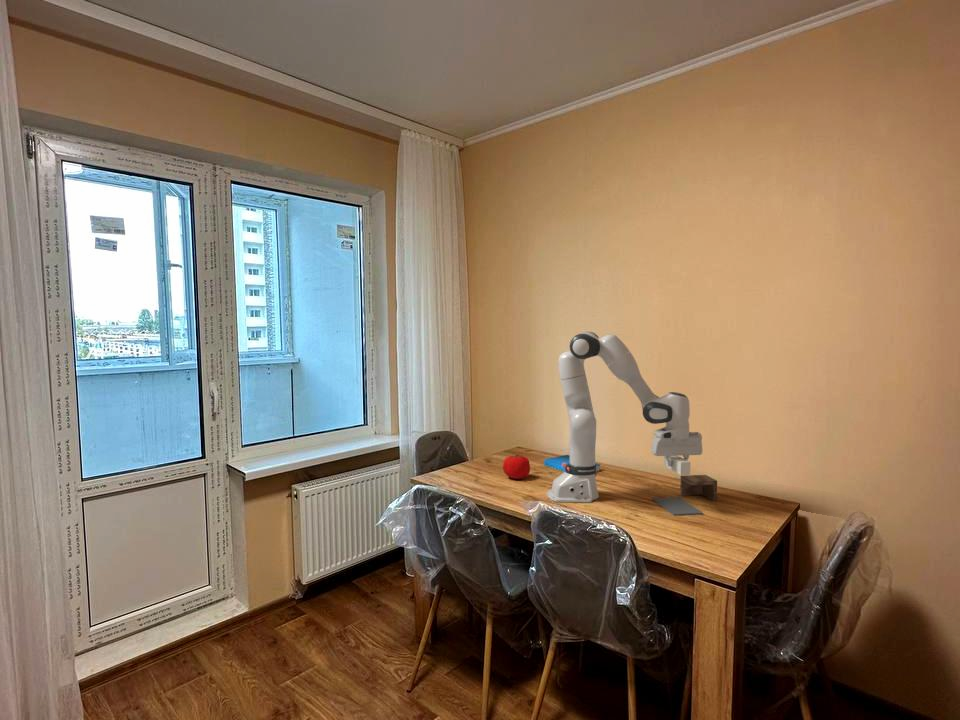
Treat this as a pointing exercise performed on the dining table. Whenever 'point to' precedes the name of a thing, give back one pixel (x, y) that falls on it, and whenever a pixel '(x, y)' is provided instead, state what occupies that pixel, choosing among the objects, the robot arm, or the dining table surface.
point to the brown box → (699, 486)
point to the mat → (677, 506)
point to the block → (678, 465)
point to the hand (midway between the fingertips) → (676, 465)
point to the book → (561, 462)
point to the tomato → (516, 466)
